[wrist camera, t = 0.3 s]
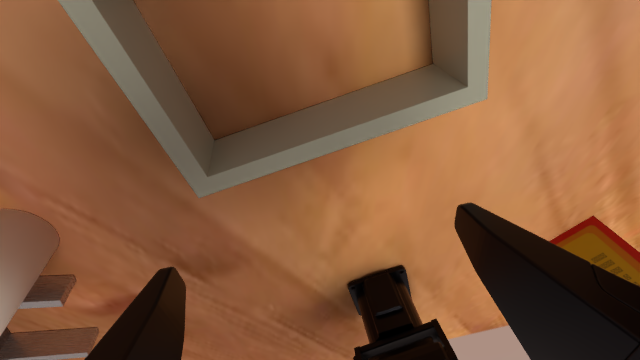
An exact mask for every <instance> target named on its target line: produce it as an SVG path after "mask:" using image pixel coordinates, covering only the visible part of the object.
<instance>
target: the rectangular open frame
mask: <svg viewBox="0 0 640 360" xmlns="http://www.w3.org/2000/svg"><path fill="white" fill-rule="evenodd" d="M58 1H59V3H60V4H61V5H62V7H63V8H64V10H65V11H66V12H67V14H68V15H69V17H70V18H71V19H72V21H73V22H74V24H75V25H76V26H77V28H78V29H79V31H80V32H81V33H82V35H83V36H84V38H85V39H86V41H87V42H88V43H89V45H90V46H91V48H92V49H93V50H94V52H95V53H96V55H97V56H98V57H99V59H100V60H101V62H102V63H103V64H104V66H105V67H106V69H107V70H108V71H109V73H110V74H111V76H112V77H113V78H114V80H115V81H116V83H117V84H118V85H119V87H120V88H121V90H122V91H123V92H124V94H125V95H126V97H127V98H128V99H129V101H130V102H131V104H132V105H133V106H134V108H135V109H136V111H137V112H138V113H139V115H140V116H141V118H142V119H143V120H144V122H145V123H146V125H147V126H148V127H149V129H150V130H151V132H152V133H153V134H154V136H155V137H156V139H157V140H158V142H159V143H160V144H161V146H162V147H163V149H164V150H165V151H166V153H167V154H168V156H169V157H170V158H171V160H172V161H173V163H174V164H175V165H176V167H177V168H178V170H179V171H180V172H181V174H182V175H183V177H184V178H185V179H186V181H187V182H188V184H189V185H190V186H191V188H192V189H193V191H194V192H195V193H196V195H197V196H198V198H201V197H204V196H207V195H210V194H213V193H215V192H218V191H221V190H224V189H227V188H230V187H233V186H236V185H239V184H242V183H245V182H247V181H250V180H253V179H256V178H259V177H262V176H265V175H268V174H271V173H274V172H276V171H279V170H282V169H285V168H288V167H291V166H294V165H297V164H300V163H303V162H306V161H308V160H311V159H314V158H317V157H320V156H323V155H326V154H329V153H332V152H335V151H338V150H340V149H343V148H346V147H349V146H352V145H355V144H358V143H361V142H364V141H367V140H369V139H372V138H375V137H378V136H381V135H384V134H387V133H390V132H393V131H396V130H399V129H401V128H404V127H407V126H410V125H413V124H416V123H419V122H422V121H425V120H428V119H431V118H433V117H436V116H439V115H442V114H445V113H448V112H451V111H454V110H457V109H460V108H462V107H465V106H468V105H471V104H474V103H477V102H480V101H483V100H486V99H487V94H488V69H489V45H490V21H491V0H428V1H429V16H430V30H431V45H432V60H433V64H431V65H428V66H425V67H422V68H420V69H417V70H414V71H411V72H408V73H405V74H402V75H400V76H397V77H394V78H391V79H388V80H385V81H383V82H380V83H377V84H374V85H371V86H368V87H365V88H363V89H360V90H357V91H354V92H351V93H348V94H345V95H343V96H340V97H337V98H334V99H331V100H328V101H325V102H323V103H320V104H317V105H314V106H311V107H308V108H306V109H303V110H300V111H297V112H294V113H291V114H288V115H286V116H283V117H280V118H277V119H274V120H271V121H268V122H266V123H263V124H260V125H257V126H254V127H251V128H248V129H246V130H243V131H240V132H237V133H234V134H231V135H229V136H226V137H223V138H220V139H217V140H214V138H213V137H212V135H211V133H210V132H209V130H208V128H207V126H206V125H205V123H204V121H203V120H202V118H201V116H200V114H199V113H198V111H197V109H196V108H195V106H194V104H193V102H192V101H191V99H190V97H189V96H188V94H187V92H186V90H185V89H184V87H183V85H182V83H181V82H180V80H179V78H178V77H177V75H176V73H175V71H174V70H173V68H172V66H171V65H170V63H169V61H168V59H167V58H166V56H165V54H164V53H163V51H162V49H161V47H160V46H159V44H158V42H157V41H156V39H155V37H154V35H153V34H152V32H151V30H150V28H149V27H148V25H147V23H146V22H145V20H144V18H143V16H142V15H141V13H140V11H139V10H138V8H137V6H136V4H135V3H134V1H133V0H58Z"/></svg>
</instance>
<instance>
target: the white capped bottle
mask: <svg viewBox="0 0 640 360" xmlns="http://www.w3.org/2000/svg"><path fill="white" fill-rule="evenodd" d="M59 241H60V239H59V235H58V233H57V231H56V230H55V229H54V227H53V226H52V225H50V224H49V223H48V222H47V221H45V220H44V219H42V218H40V217H38V216H36V215H33V214H31V213H28V212H24V211H20V210H14V209H0V336H1V334H2V333H3V331H4V330H5V328H6V327H7V325H8V324H9V322H10V320H11V319H12V317H13V316H14V314H15V313H16V311H17V310H18V308H19V306H20V305H21V303H22V302H23V300H24V299H25V297H26V296H27V294H28V292H29V291H30V289H31V288H32V286H33V285H34V283H35V282H36V280H37V278H38V277H39V275H40V274H41V272H42V271H43V269H44V268H45V266H46V265H47V263H48V261H49V260H50V258H51V257H52V255H53V254H54V252H55V251H56V249H57V247H58V246H59Z"/></svg>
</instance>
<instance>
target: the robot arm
mask: <svg viewBox="0 0 640 360" xmlns="http://www.w3.org/2000/svg"><path fill="white" fill-rule="evenodd" d="M455 229H456V232H457V234H458V236H459V238H460V240H461V242H462V244H463V246H464V248H465V250H466V253H467V255H468V257H469V259H470V261H471V263H472V265H473V267H474V269H475V271H476V273H477V274H478V276H479V278H480V279H481V281H482V282H483V284H484V286H485V287H486V289H487V290H488V292H489V294H490V295H491V297H492V298H493V300H494V302H495V303H496V305H497V306H498V308H499V310H500V311H501V313H502V314H503V316H504V318H505V319H506V321H507V322H508V324H509V326H510V327H511V329H512V330H513V332H514V334H515V335H516V337H517V338H518V340H519V342H520V343H521V345H522V346H523V348H524V350H525V351H526V353H527V354H528V356H529V357H530V359H531V360H640V286H638V285H636V284H634V283H631V282H629V281H627V280H625V279H623V278H621V277H619V276H617V275H615V274H613V273H611V272H609V271H607V270H605V269H603V268H601V267H599V266H597V265H595V264H591V263H590V262H589V261H587V260H585V259H583V258H581V257H579V256H577V255H575V254H573V253H571V252H569V251H567V250H565V249H563V248H561V247H559V246H557V245H555V244H553V243H551V242H549V241H547V240H545V239H543V238H541V237H539V236H537V235H535V234H533V233H531V232H529V231H527V230H525V229H523V228H521V227H519V226H517V225H515V224H513V223H511V222H509V221H507V220H505V219H503V218H501V217H499V216H497V215H495V214H493V213H491V212H489V211H487V210H485V209H483V208H481V207H479V206H477V205H476V204H473V203H465V204H461V205H459V206H458V207H457V211H456V217H455ZM348 289H349V292H350V294H351V297H352V299H353V301H354V304H355V306H356V309H357V311H358V313H359V315H361V316H362V319H363V322H364V326H365V329H366V333H367V336H368V339H369V343H370V344H367V345H364V346H362V347H356V348H354V350H355V356H354V357H353V359H354V360H458V359H457V357H456V355H455V353H454V351H453V349H452V347H451V345H450V343H449V341H448V340H447V338H446V336H445V334H444V332H443V330H442V328H441V326H440V325H439V323H438V321H437V319H433V320H431V322H428V323H425V324H422V322H421V319H420V317H419V315H418V313H417V310H416V308H415V306H414V304H413V302H412V299H411V294H410V289H409V284H408V279H407V274H406V270H405V268H404V267H403V266H400V267H397V268H394V269H391V270H388V271H384V272H381V273H378V274H375V275H372V276H369V277H366V278H363V279H360V280H357V281H354V282H351V283H349V284H348ZM185 302H186V286H185V283H184V281H183V279H182V278H181V276H180V275H179V273H178V271H177V270H176V268H174V267H168V268H163V269H160V270H159V271H158V272H157V273H156V274H155V275H154V276H153V277H152V279H151V280H150V281H149V282H148V284H147V285H146V286H145V287H144V288H143V290H142V291H141V292H140V293H139V294H138V296H137V297H136V298H135V299H134V300H133V302H132V303H131V304H130V305H129V306H128V308H127V309H126V310H125V311H124V312H123V314H122V315H121V316H120V317H119V318H118V320H117V321H116V322H115V323H114V324H113V326H112V327H111V328H110V329H109V330H108V332H107V333H106V334H105V335H104V336H103V338H102V339H101V340H100V341H99V342H98V344H97V345H96V346H95V347H94V349H93V350H92V351H91V352H90V353H89V355H88V356H87V357H86V358H85V359H84V360H181V356H182V350H183V342H184V330H185Z"/></svg>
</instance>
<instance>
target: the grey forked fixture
mask: <svg viewBox="0 0 640 360" xmlns="http://www.w3.org/2000/svg"><path fill="white" fill-rule="evenodd" d="M75 282H76V279H75V277H74V275H58V276H39V277H38V278H37V280H36V282H35V283H34V285H33V286H32V288H31V289H30V291H29V292H28V294H27V296H26V297H25V299H24V300H23V302H22V303H21V305H20V306H19V308H18V309H24V308H42V307H60V306H63V305H64V303H65V302H66V300H67V298H68V296H69V294H70V292H71V290H72V288H73V286H74V284H75ZM98 333H99V331H98V329H97V327H95V328H81V329H67V330H53V331H38V332H24V333H10V332H9V330H8V329H7V327H6V328H5V330H4V331H3V333H2V334H1V336H0V360H57V359H68V358H80V357H87V356H88V355H89V353H90V352H91V350H92V348H93V345H94V343H95V340H96V338H97V335H98Z"/></svg>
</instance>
